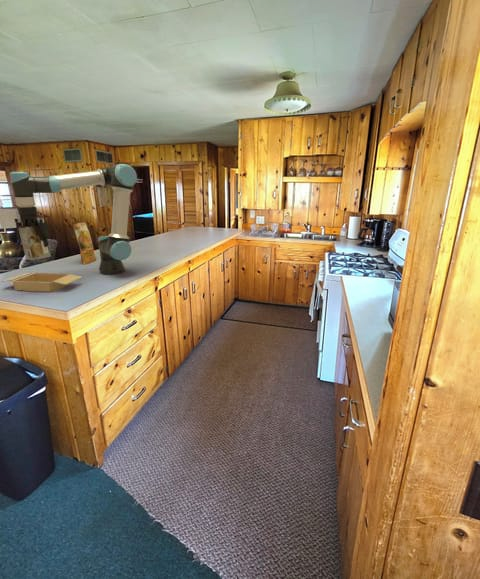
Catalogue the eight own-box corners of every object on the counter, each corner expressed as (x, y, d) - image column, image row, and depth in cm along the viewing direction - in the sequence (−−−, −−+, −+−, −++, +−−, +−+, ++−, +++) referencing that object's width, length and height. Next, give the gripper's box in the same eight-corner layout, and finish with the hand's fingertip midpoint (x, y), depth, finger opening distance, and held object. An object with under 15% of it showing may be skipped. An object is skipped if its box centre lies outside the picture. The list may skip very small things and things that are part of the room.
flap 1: (32, 272, 165) (21, 274, 166) (12, 279, 152) (0, 281, 153) (32, 273, 165) (21, 275, 166) (12, 280, 153) (1, 282, 154)
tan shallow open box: (71, 282, 167) (70, 273, 165) (51, 292, 151) (49, 282, 149) (37, 281, 168) (35, 272, 167) (14, 290, 153) (11, 281, 151)
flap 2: (52, 281, 151) (65, 284, 150) (69, 274, 163) (81, 276, 163) (52, 282, 151) (65, 284, 150) (69, 274, 163) (81, 277, 163)
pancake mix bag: (75, 265, 204) (68, 224, 195) (90, 258, 222) (84, 221, 213) (85, 265, 204) (78, 224, 195) (99, 259, 222) (93, 221, 213)
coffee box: (44, 255, 154) (37, 224, 149) (51, 256, 151) (44, 225, 146) (25, 259, 146) (17, 226, 141) (32, 260, 143) (24, 227, 138)
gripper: (53, 206, 143) (62, 251, 151) (11, 205, 144) (23, 251, 152) (42, 207, 136) (52, 255, 144) (-1, 206, 137) (11, 254, 145)
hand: (37, 253), depth 148 cm, fingers closed on coffee box, 8 cm apart
